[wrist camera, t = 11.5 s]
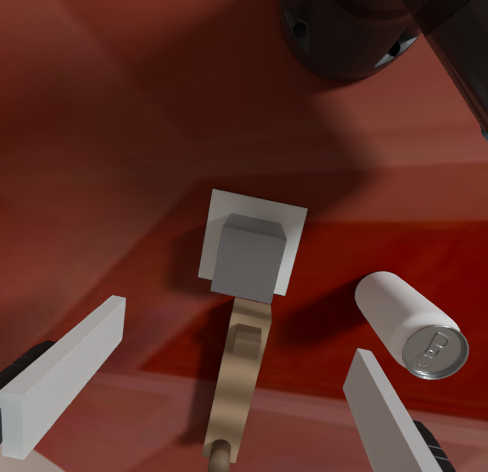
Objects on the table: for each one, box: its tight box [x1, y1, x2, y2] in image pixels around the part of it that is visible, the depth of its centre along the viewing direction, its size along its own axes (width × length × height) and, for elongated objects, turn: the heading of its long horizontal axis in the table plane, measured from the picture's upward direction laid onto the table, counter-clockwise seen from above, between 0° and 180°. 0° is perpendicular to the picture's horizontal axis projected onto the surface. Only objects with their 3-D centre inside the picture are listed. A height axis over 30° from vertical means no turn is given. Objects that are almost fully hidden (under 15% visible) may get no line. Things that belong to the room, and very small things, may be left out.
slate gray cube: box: [211, 213, 287, 304], centre depth 31 cm, size 7×6×8 cm
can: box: [355, 272, 469, 380], centre depth 30 cm, size 6×6×12 cm
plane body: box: [202, 297, 272, 472], centre depth 36 cm, size 24×5×7 cm, turn 169°
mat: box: [198, 189, 308, 296], centre depth 35 cm, size 12×12×1 cm
